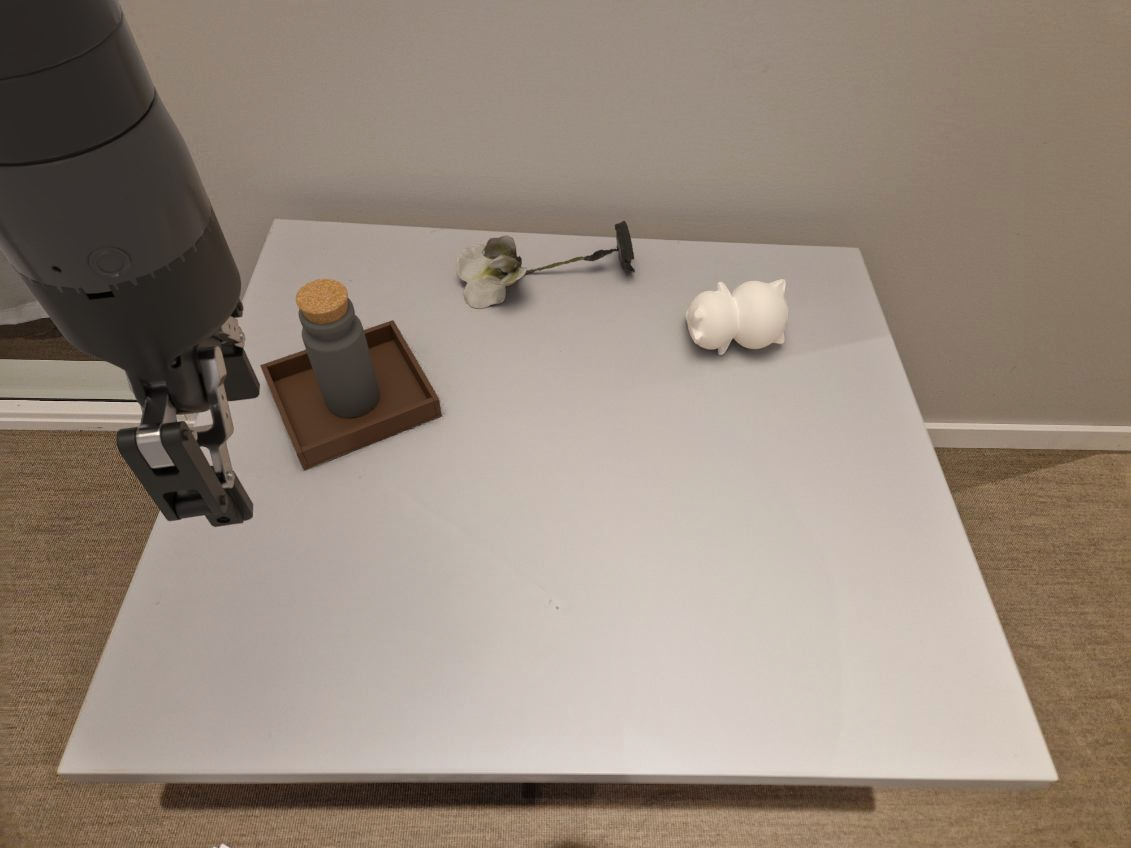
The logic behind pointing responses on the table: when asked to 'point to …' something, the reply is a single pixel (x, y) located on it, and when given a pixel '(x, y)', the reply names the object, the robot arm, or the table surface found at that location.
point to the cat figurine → (739, 316)
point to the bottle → (337, 348)
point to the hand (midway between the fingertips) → (238, 453)
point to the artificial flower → (516, 266)
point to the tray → (332, 436)
